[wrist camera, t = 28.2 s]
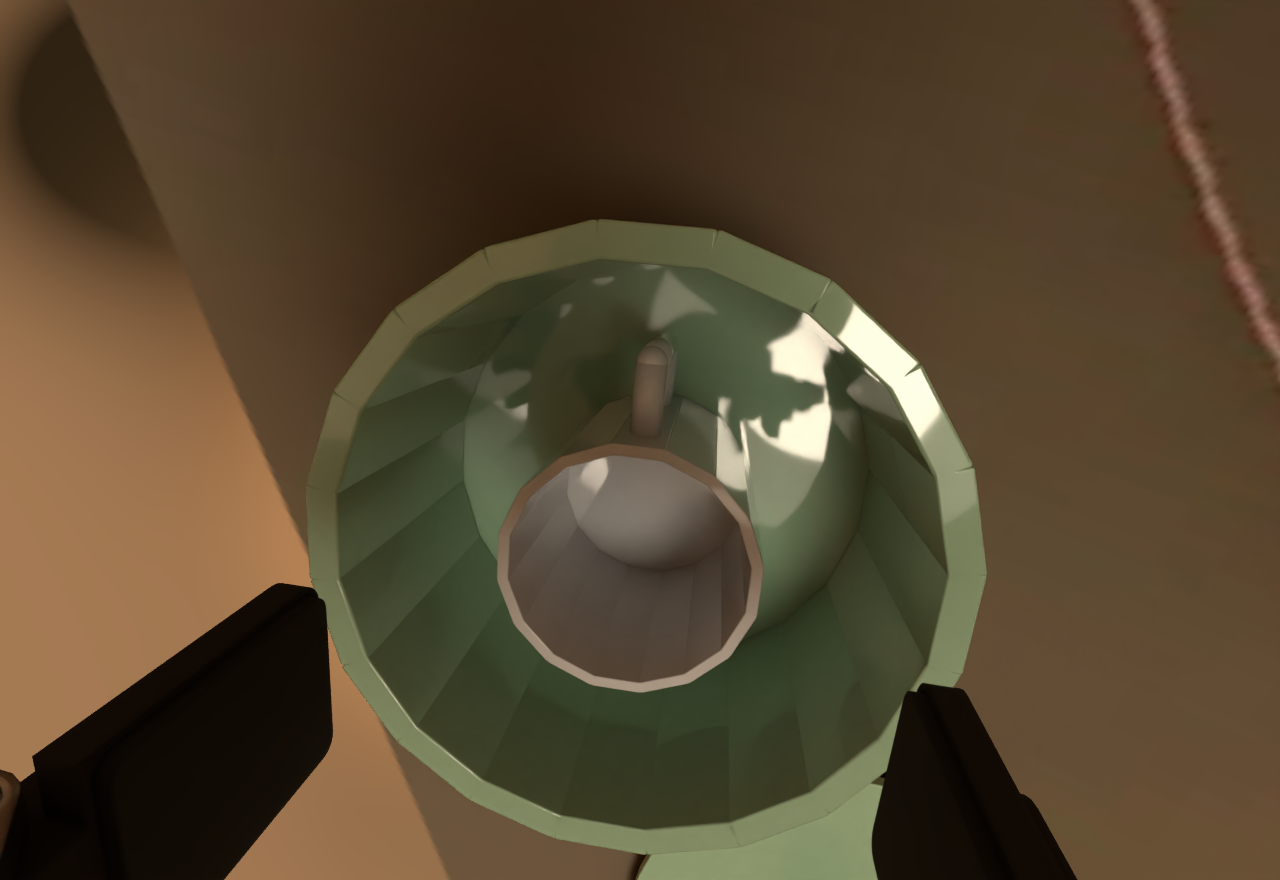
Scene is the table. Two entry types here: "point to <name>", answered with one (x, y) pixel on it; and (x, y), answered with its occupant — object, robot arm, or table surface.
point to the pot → (786, 511)
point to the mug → (637, 540)
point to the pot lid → (787, 850)
